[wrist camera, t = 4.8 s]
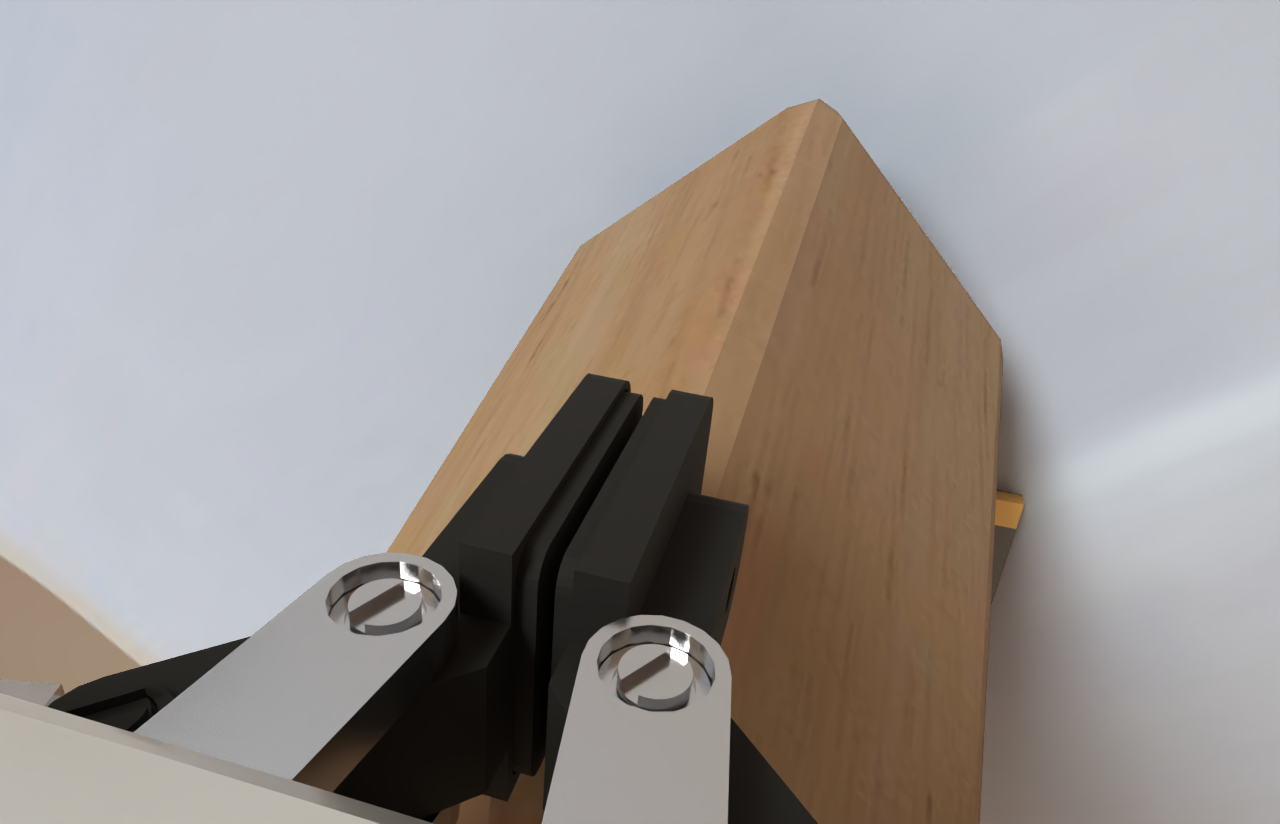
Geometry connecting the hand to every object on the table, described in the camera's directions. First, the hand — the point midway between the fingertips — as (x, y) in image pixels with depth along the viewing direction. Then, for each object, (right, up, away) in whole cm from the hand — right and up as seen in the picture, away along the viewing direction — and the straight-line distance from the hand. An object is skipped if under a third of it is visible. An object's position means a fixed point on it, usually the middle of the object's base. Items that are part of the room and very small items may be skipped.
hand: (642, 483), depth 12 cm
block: (+4, +5, +16) cm, 17 cm away
